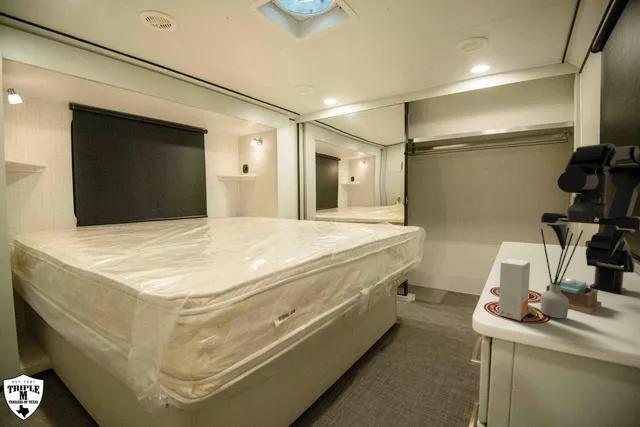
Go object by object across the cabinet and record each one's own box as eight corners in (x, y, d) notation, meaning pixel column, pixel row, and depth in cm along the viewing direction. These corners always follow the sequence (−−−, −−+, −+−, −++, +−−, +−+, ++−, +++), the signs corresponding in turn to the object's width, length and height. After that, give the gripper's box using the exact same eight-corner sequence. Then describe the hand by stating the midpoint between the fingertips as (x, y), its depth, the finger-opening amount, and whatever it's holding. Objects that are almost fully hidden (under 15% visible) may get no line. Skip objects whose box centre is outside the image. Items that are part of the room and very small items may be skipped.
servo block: (566, 293, 73) (568, 274, 73) (586, 298, 70) (588, 278, 70) (554, 300, 68) (555, 279, 68) (575, 305, 65) (577, 283, 65)
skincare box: (520, 321, 58) (523, 265, 58) (497, 315, 62) (499, 262, 61) (528, 313, 62) (530, 261, 62) (506, 308, 66) (508, 258, 65)
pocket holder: (554, 294, 76) (555, 280, 75) (601, 306, 68) (602, 290, 68) (541, 301, 71) (542, 285, 70) (590, 314, 63) (591, 297, 63)
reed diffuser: (566, 313, 63) (573, 226, 62) (592, 327, 56) (600, 230, 55) (518, 310, 64) (524, 225, 63) (538, 324, 58) (545, 228, 56)
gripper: (534, 193, 76) (531, 249, 77) (637, 193, 60) (631, 264, 61) (550, 193, 82) (546, 245, 83) (647, 194, 66) (641, 258, 67)
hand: (585, 252), depth 73 cm, fingers open, 9 cm apart
